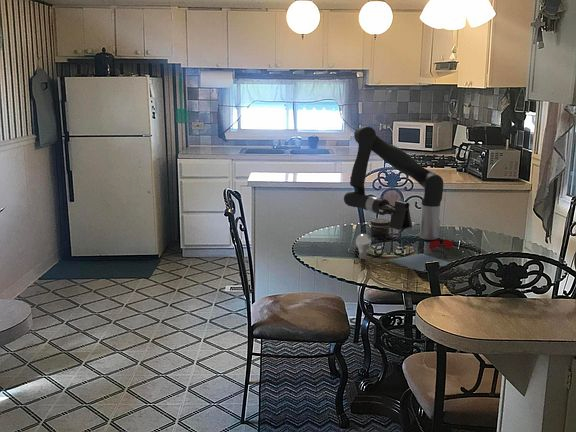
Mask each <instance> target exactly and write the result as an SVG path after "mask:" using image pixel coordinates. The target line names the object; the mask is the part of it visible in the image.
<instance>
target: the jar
mask: <svg viewBox="0 0 576 432" xmlns="http://www.w3.org/2000/svg"><path fill="white" fill-rule="evenodd" d="M390 221H391V220H390V219H386V218H372V219H370V232H369V233H370V235H371V236H373V237H377V238H385V236H386V237H388V236H389V234H390V230H391V228H390V227H389V225H390Z"/></svg>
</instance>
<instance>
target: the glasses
mask: <svg viewBox="0 0 576 432" xmlns="http://www.w3.org/2000/svg"><path fill="white" fill-rule="evenodd" d="M441 241H443V242H441ZM441 244H442V245H443V247H445V248H446V249H451V248H452V247H453V246H456V247H458V248H460V249H462V250H464V251H466V252H468V254H469V256H470V255H471V256H472V257H473V255H472V253H471V252H470V251H469V250H468V249H466V248H464V247H462V246H460V245H457V244H455V243H454V240H453V239H451V240H450V239H441V240H440V239H436V240H430V243H429V244H427V246H428V248H429V250H430V251H431V250H437V251H438V252H440V253H442V254H443V255H444V257H445V260H446V261H447V260H448V257H447V256H446V253H445V252H444V251H442V250H440V249H438V248H439V247H440V248H441ZM471 256H470V257H471Z"/></svg>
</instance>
